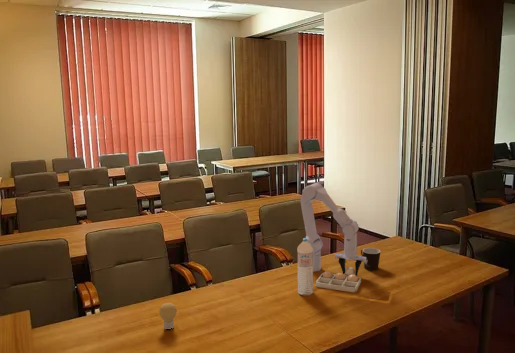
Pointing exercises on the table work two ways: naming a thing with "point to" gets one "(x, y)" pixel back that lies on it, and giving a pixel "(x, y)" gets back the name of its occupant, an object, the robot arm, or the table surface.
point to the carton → (338, 281)
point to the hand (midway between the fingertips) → (350, 274)
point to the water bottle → (305, 268)
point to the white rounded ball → (350, 271)
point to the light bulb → (168, 314)
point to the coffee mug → (371, 258)
